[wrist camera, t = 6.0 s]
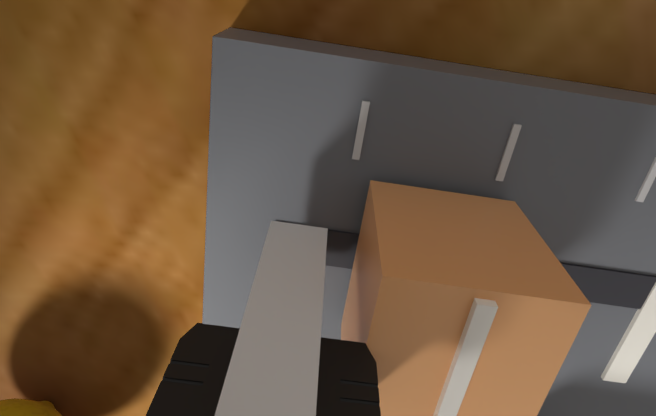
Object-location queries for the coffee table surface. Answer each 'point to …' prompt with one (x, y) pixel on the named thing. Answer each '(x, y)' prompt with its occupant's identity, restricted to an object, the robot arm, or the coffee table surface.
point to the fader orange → (458, 304)
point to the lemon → (27, 408)
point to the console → (439, 182)
